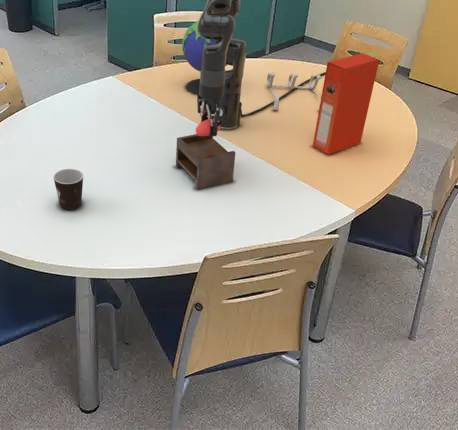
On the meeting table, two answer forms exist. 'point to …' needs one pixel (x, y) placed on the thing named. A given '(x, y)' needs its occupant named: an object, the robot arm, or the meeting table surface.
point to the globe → (195, 53)
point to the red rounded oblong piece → (204, 128)
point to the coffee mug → (69, 188)
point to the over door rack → (290, 85)
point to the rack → (205, 160)
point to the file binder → (344, 102)
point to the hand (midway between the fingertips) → (208, 131)
